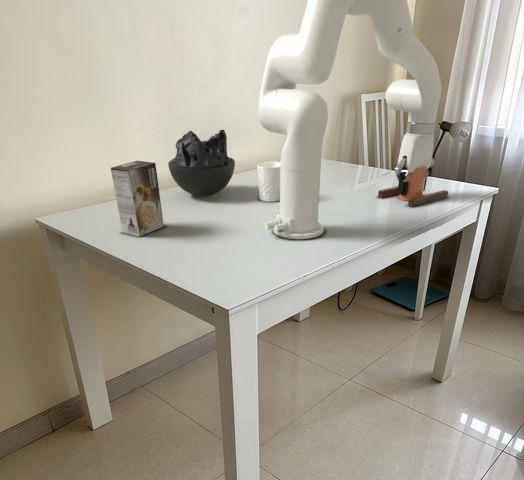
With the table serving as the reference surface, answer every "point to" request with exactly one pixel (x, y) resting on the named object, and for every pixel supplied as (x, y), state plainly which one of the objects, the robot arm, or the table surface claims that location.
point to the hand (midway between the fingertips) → (411, 192)
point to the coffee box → (137, 197)
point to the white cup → (269, 181)
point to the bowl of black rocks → (202, 164)
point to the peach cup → (415, 184)
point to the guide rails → (416, 200)
